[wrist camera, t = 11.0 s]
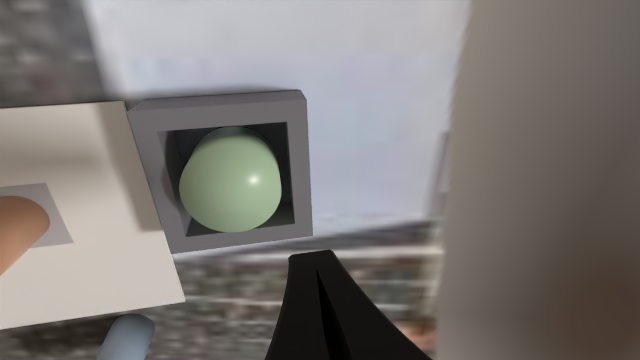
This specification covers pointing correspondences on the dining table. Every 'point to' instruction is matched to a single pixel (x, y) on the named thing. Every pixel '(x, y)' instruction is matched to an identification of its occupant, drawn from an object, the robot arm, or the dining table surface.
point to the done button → (231, 180)
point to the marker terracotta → (19, 228)
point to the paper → (82, 216)
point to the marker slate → (127, 338)
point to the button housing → (217, 111)
